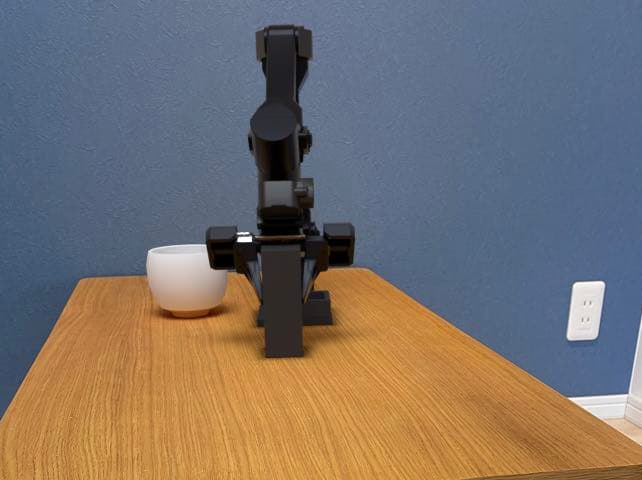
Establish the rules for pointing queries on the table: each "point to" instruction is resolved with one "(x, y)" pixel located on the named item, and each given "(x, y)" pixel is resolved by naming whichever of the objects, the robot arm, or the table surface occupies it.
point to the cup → (185, 280)
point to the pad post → (282, 300)
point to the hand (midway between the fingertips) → (282, 302)
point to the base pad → (310, 309)
